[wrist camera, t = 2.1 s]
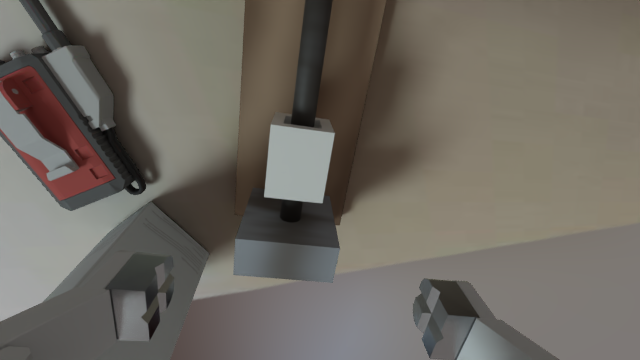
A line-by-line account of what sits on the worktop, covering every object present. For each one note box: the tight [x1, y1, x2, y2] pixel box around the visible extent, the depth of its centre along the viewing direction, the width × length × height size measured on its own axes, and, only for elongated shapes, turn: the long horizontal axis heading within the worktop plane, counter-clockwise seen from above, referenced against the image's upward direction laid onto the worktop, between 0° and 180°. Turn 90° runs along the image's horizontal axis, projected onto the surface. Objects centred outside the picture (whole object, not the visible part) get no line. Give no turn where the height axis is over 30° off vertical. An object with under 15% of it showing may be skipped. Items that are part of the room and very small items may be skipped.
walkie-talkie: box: [0, 0, 146, 211], centre depth 23 cm, size 9×4×20 cm
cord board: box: [233, 0, 386, 283], centre depth 20 cm, size 10×29×10 cm, turn 171°
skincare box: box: [43, 202, 209, 360], centre depth 24 cm, size 8×6×15 cm
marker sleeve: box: [264, 112, 335, 203], centre depth 21 cm, size 4×5×4 cm
